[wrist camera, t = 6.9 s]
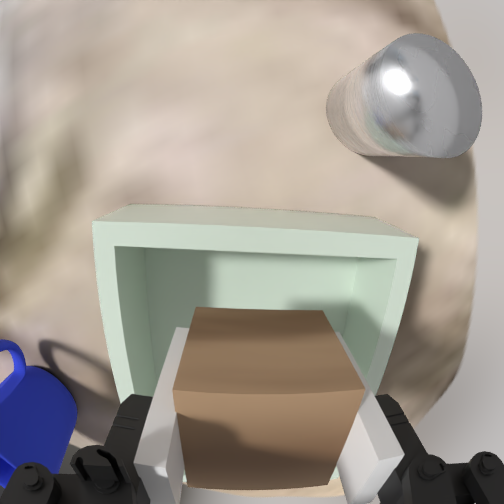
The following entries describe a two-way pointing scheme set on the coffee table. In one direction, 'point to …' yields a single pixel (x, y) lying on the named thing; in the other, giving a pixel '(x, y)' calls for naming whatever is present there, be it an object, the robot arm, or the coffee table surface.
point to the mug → (33, 417)
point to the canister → (407, 102)
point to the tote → (245, 278)
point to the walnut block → (263, 399)
